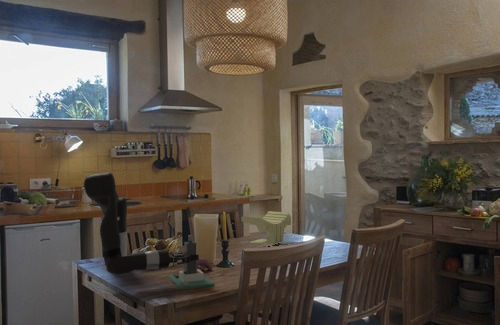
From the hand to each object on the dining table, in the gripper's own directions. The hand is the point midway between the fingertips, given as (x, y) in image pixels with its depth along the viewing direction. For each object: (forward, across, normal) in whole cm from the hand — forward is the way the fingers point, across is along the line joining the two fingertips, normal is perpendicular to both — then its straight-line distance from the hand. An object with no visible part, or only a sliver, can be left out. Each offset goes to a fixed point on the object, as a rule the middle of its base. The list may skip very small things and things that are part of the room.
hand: (196, 256), depth 201 cm
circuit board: (-3, 0, +10) cm, 11 cm away
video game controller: (+7, +15, +11) cm, 20 cm away
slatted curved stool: (+62, +60, +10) cm, 87 cm away
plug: (-3, 0, +8) cm, 8 cm away
